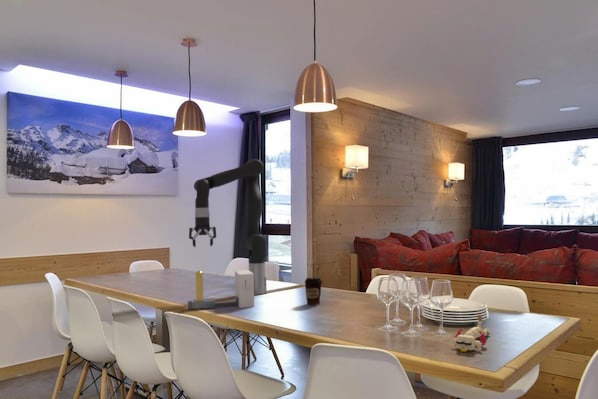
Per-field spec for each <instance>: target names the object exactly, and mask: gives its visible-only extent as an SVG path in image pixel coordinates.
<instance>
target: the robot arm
mask: <svg viewBox="0 0 598 399" xmlns="http://www.w3.org/2000/svg"><path fill="white" fill-rule="evenodd" d="M264 167H265V166H264V163H263V162H262V161H261V160H259V159H256V158H255V159H254V158H253V159H250V160H248V161H247V162H246V163H245V164H244V165H241V166H238V167H235V168H233V169H228V170H224V171H221V172H218V173H215V174H213V175H210V176H207V177H203V178H200V179H197V180H196V181H195V182H194V184H193V189H194V190H195V191H196V198H195V201H194V202H195V203H194V204H195V205H194V206H195V208H194V209H195V210H194V224H195V226H194V227H189V229H188V239H190V240H192V247H193V248H196V244H197V243H196V238H197V237H198V236H206V235H207V236H208V238H209V246H210V247H212V246H214V239H216V238H217V230H216V229H217V228H216V226H211V225H210V224H211V223H210V206H209V204H210V203H209V202H210V201H209V197H210V190H211V189H215V188H218V187H221V186H224V185H227V184H230V183H233V182H234V181H237V180H240V179H243V178H245V209H246V232H245V233H246V234H245V235H246V236H245V245H246V247H247V248H248V249H249V250H251V255H250V256H249V258H248V270H249V271H250V272H252V273H253V274H254V296H255V295H256V296H257V295H265V294H267V293H268V292H267V289H268V288H267V276H266V257H267V240H266V237H265V236H264V235H263V234H261V233H260V234H259V223H260V220H261V217H262V214H263V197H262V193H261V190H260V186H259V175H260V174H262V173H263V172H264ZM210 231H212V234H213V235H212V234H211V233H210ZM193 232H196V233H195V234H194V235H193V236H192V234H193Z"/></svg>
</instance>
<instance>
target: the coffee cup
mask: <svg viewBox="0 0 598 399" xmlns="http://www.w3.org/2000/svg"><path fill="white" fill-rule="evenodd" d="M322 282H323V281H322V279H321V277H318V276H315V277H314V276H313V277H312V276H311V277H306V279H305V281H304V285H305V286H304V287H305V295H306V296H305V298H306V304H307V305H309V306H318V305H321V300H320V299H321V295H322Z"/></svg>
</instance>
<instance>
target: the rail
mask: <svg viewBox="0 0 598 399" xmlns="http://www.w3.org/2000/svg"><path fill="white" fill-rule="evenodd" d="M237 306H238V302H237V301H235V300H228V301H226V300H225V301H215V307H216V308H225V307H226V308H227V307H237ZM238 307H239V306H238ZM193 308H194V305H193V300H187V309H188V311H193V310H194V309H193ZM192 309H193V310H192Z"/></svg>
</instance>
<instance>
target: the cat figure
mask: <svg viewBox="0 0 598 399" xmlns="http://www.w3.org/2000/svg"><path fill="white" fill-rule="evenodd" d="M477 319H478V322H477V326H474V327H471V328H470V329H468V330H467V331H466V332H465V333H464V334H462V332H463V330H464V329H466V327H463V328H460V329H459V330H458V331H457V332H456V334H455V336H454V338H453V339H451V343H452V344H454V345H455V347H456V348H457V349H459V350H460V352H467V351H473V350H474V351H475V350H477V349H478V348H480V347H481V348H482V347H483V346H485V344H487V339H486V338H485V337H488V336H490V332H489V330H488V328H483V327H482V323H483V318H482V315H481V314H478V315H477ZM477 338H479V339H480V340H476V339H477Z"/></svg>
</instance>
